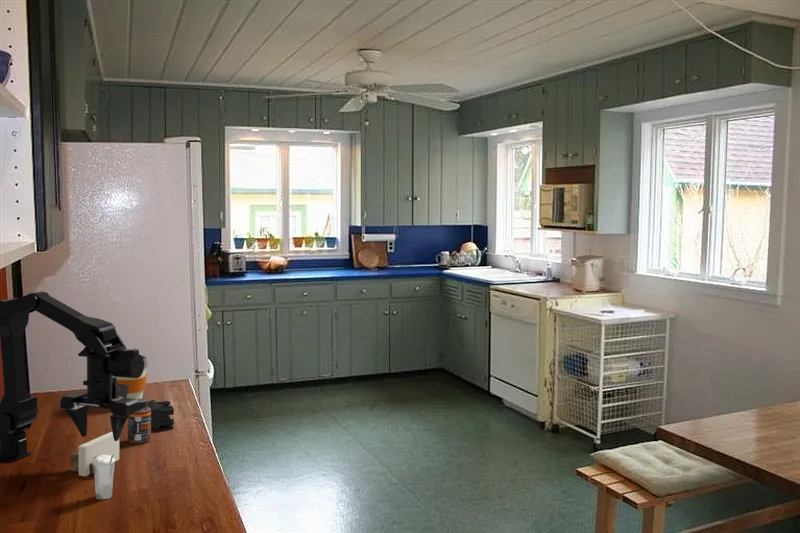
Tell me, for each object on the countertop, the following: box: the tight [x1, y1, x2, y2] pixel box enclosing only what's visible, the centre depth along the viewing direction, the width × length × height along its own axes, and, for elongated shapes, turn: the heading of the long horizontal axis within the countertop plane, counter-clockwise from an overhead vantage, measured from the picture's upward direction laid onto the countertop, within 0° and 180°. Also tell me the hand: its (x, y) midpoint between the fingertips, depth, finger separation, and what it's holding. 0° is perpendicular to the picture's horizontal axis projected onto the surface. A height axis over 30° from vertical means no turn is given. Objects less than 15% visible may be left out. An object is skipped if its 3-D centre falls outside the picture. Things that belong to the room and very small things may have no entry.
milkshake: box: [92, 455, 116, 501], centre depth 154 cm, size 4×5×10 cm
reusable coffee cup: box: [113, 354, 148, 401], centre depth 224 cm, size 13×13×15 cm
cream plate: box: [77, 431, 120, 477], centre depth 171 cm, size 12×2×7 cm, turn 164°
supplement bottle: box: [127, 397, 152, 445], centre depth 191 cm, size 6×6×11 cm
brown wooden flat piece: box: [69, 452, 98, 475], centre depth 168 cm, size 10×1×4 cm, turn 74°
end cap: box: [147, 399, 175, 432], centre depth 204 cm, size 10×7×7 cm
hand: (100, 438), depth 171 cm, fingers open, 9 cm apart
